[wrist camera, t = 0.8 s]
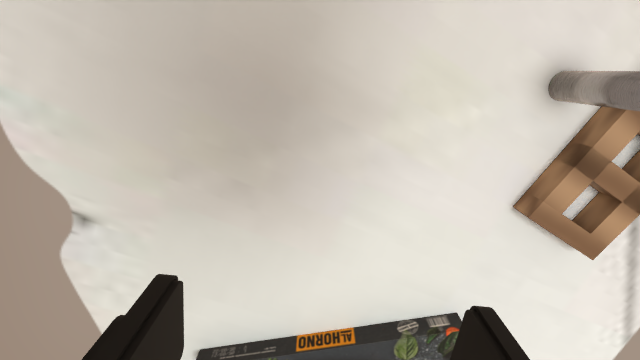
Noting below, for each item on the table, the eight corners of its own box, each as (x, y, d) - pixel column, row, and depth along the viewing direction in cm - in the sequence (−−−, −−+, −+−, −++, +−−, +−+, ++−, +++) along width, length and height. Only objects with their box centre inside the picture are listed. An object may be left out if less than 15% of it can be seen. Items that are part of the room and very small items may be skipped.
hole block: (618, 87, 35) (645, 89, 32) (681, 137, 36) (711, 143, 33) (512, 206, 39) (528, 217, 36) (573, 246, 41) (592, 260, 38)
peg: (563, 65, 34) (659, 63, 24) (584, 81, 34) (685, 86, 25) (542, 90, 35) (627, 98, 25) (563, 106, 35) (653, 120, 26)
